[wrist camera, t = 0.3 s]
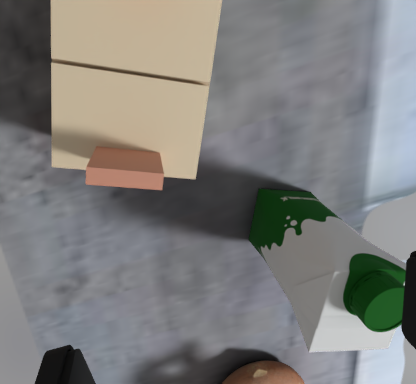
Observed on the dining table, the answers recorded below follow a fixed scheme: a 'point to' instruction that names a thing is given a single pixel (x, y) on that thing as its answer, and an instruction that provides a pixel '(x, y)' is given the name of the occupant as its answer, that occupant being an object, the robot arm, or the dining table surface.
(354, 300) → the soya milk
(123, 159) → the flap
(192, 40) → the flap
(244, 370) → the ceramic jug
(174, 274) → the dining table surface
